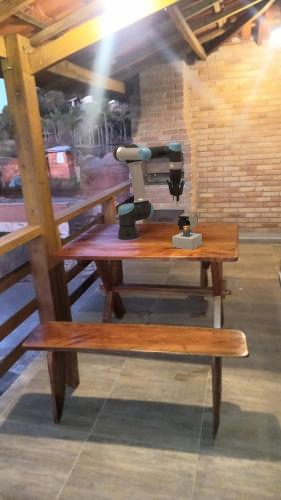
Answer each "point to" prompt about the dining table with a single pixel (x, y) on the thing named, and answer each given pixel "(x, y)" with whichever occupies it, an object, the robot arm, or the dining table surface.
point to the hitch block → (187, 241)
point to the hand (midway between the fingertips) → (176, 206)
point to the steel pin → (186, 231)
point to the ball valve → (188, 220)
